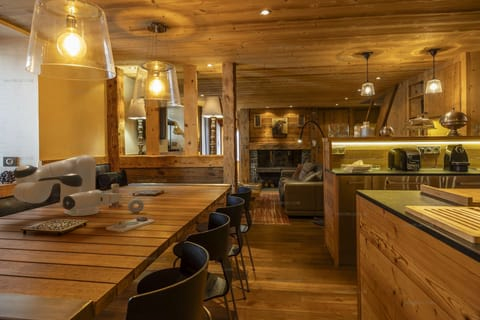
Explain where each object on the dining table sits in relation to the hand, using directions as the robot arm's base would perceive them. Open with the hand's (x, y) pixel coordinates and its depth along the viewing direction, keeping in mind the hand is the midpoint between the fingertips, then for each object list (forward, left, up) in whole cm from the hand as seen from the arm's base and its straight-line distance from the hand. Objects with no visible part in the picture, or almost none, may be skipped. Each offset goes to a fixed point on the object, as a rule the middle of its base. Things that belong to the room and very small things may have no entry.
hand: (116, 194), depth 170 cm
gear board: (+13, -1, -17) cm, 21 cm away
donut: (-9, +24, -17) cm, 31 cm away
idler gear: (0, -1, -7) cm, 7 cm away
